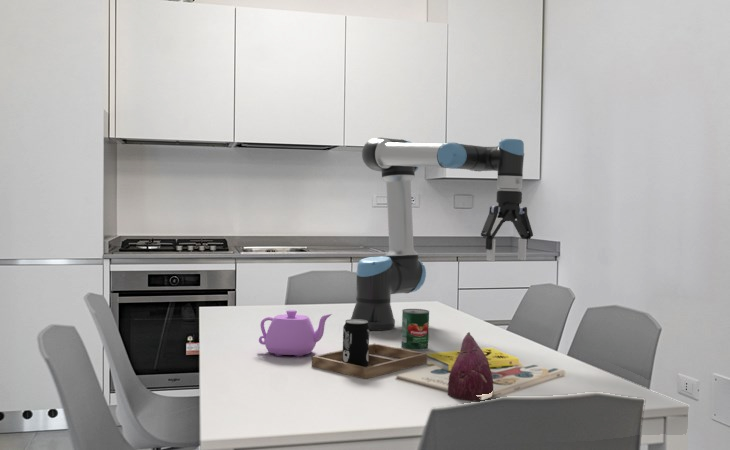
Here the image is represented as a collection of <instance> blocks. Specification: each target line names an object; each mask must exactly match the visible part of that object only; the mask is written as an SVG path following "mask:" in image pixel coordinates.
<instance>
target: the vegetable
mask: <svg viewBox="0 0 730 450" xmlns="http://www.w3.org/2000/svg"><path fill="white" fill-rule="evenodd" d="M463 337H464V338H463V340H462V342H461V347H460V350H459V352H458V355H457V356H456V358H455V361H454V363H453V365H452V367H451V369H450V371H449V376H448V383H447V395H448V396H449V397H452V398H454V399H458V400H463V401H468V402H474V401H473V400H476V401H475V402H482V401H481V400H480V399H479V398H480V397H477V396H476V395H482V394H489V393H491V392H492V391H493V392H494V379H493V374H492V370H491V367H490V363H489V360H488V358H487V355H486V354H485V352H484V351H483V349H482V348H481V347H480V345H478V343H477V341H476V340H475V338H474V337H473V336H472V335H471V333H470V331H469V332H467V333H466V334H465V336H463Z"/></svg>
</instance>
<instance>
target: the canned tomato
mask: <svg viewBox="0 0 730 450" xmlns="http://www.w3.org/2000/svg"><path fill="white" fill-rule="evenodd" d="M401 311H402V312H401V313H402V314H401V315H402V316H401V319H402V320H401V346H400V347H401V349H406V350H411V351H416V352H421V351H427V350H429V333H430V331H429V329H430V328H429V327H430V310H427V309H422V308H404V309H402V310H401Z"/></svg>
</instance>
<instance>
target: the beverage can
mask: <svg viewBox="0 0 730 450" xmlns="http://www.w3.org/2000/svg"><path fill="white" fill-rule="evenodd" d="M344 322H345V323H344V325H343V328H342V331H343V333H342V350H343V356H342V361H341V362H345V363H349V364H354V365H358V366H363V367H368V366H369V365H368V358H369V345H370V330H369V325H368V321H367V320H361V319H351V318H350V319H345V320H344Z"/></svg>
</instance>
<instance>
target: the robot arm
mask: <svg viewBox="0 0 730 450" xmlns="http://www.w3.org/2000/svg"><path fill="white" fill-rule="evenodd" d="M524 151H525V144H524V141H523V140H522V139H518V138H503V139H502V138H501V139H500V140H499V142H498V145H497V146H481V145H472V144H463V143H458V142H447V143H445V142H442V143H440V142H439V143H438V142H437V143H433V142H432V143H431V142H429V143H428V142H412V141H409V140H406V139H399V138H398V139H397V138H387V137H372V138H370V139H369V140H367V142H366V143H365V144H364V146H363V147H362V151H361V158H362V161H363V163H364V164H365V166H366V167H367V168H369V169H371V170H372V171H376V172H381V180H383V181H384V182H385V184H386V200H387V201H386V203H387V204H386V205H387V226H388V229H387V231H388V249H389V250H388V252H387V253H385V255H384V256H370V257H364V258H362V259H360V260H359V261H358V263H357V266H356V267H357V269H356V272H355V273H356V292H355V293H356V294H355V306H354V309H353V312H352V314H351V317H350V319H361V320H367V321H368V325H369V331H385V330H386V331H387V330H393V329H395V328H396V320H395V318H394V314H393V313H394V312H393V309H392V306H391V296H392V295H397V294H410V293H414V292H416V291H418V290H420V289H421V288H422V287H423V285H424V283H425V282H426V277H427V269H426V267H425V265H424V264H423V262H422V261H421V260H420V259H419V253H418V252H417V251H416V250H415V249H414V248H415V246H414V229H413V227H414V225H413V207H412V205H413V203H412V181H413V179H414V178H415V173H416V172H417V171H418V169H419V168H422V167H423V168H440V169H450V170H451V169H455V170H468V171H472V172H473V171H474V172H491V171H492V172H497V181H496V189H497V192H496V200H495V201H496V203H497V205H490V206H489V211H488V215H487V217H486V220H485V222H484V225H483V228H482V229H481V232H480V236H481V237H482V238H483V239H485V250H486V256H485V257H486V258H485V259H486V261H489V262H496V261H495V259H496V258H495V257H496V240H497V239H496V238H495V236H496V235H497V233H498V231H499V230H500V228H501V227H502V226H503V224H504V223H505V222H510V223H512V224H513V227H514V228H515V229H516V232H517V233H518V235H519V238H518V244H517V245H518V247H517V260H520V261H527V250H528V243H529V242H528V241H529V240H531V238H532V237H533V236H534V232H533V229H532V226H531V222H530V219H529V216H528V215H529V214H528V207H527V206H520V205H521V203H522V200H523V192H522V191H521V190H522V189H523V178H524V175H523V173H524V172H523V170H524V157H525V152H524Z"/></svg>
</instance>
